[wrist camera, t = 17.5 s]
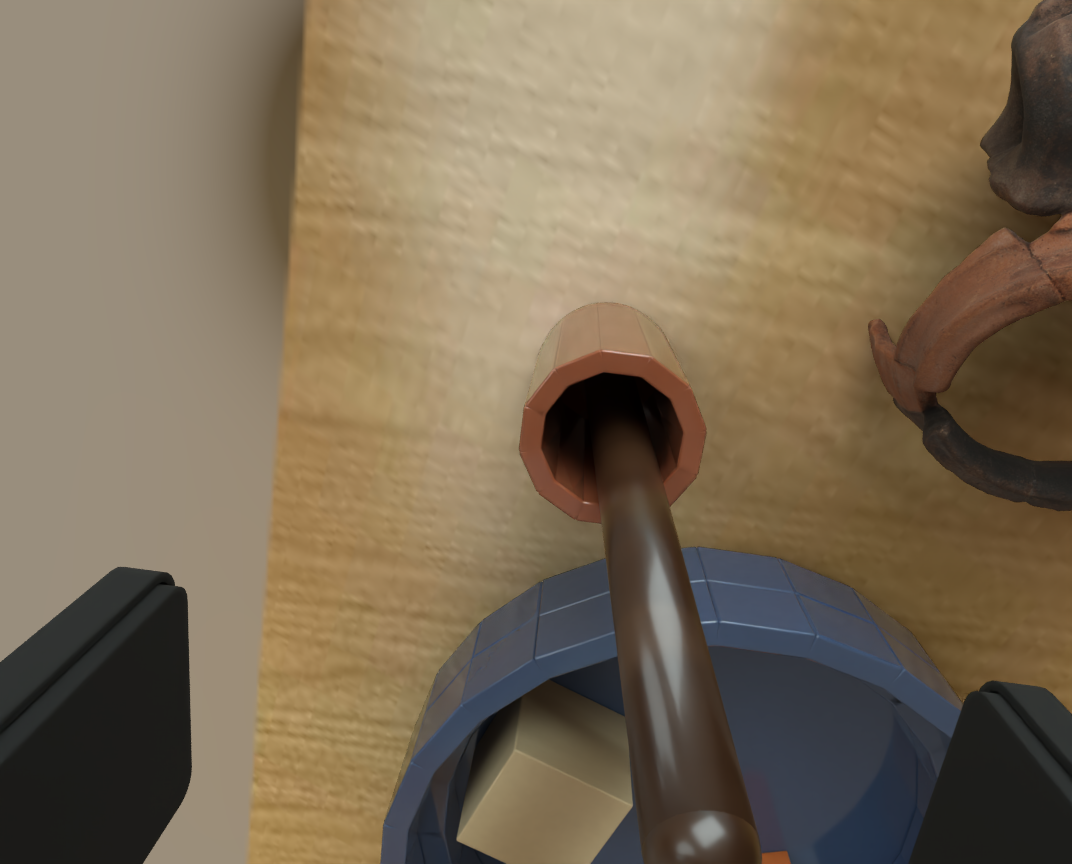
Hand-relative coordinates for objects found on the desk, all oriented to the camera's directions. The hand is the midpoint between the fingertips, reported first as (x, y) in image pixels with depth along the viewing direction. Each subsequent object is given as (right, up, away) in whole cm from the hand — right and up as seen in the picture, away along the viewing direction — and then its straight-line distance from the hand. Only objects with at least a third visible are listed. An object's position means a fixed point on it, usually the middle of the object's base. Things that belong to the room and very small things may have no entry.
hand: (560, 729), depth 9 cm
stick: (+2, +6, +13) cm, 15 cm away
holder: (+2, +5, +14) cm, 15 cm away
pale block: (0, -7, +18) cm, 19 cm away
